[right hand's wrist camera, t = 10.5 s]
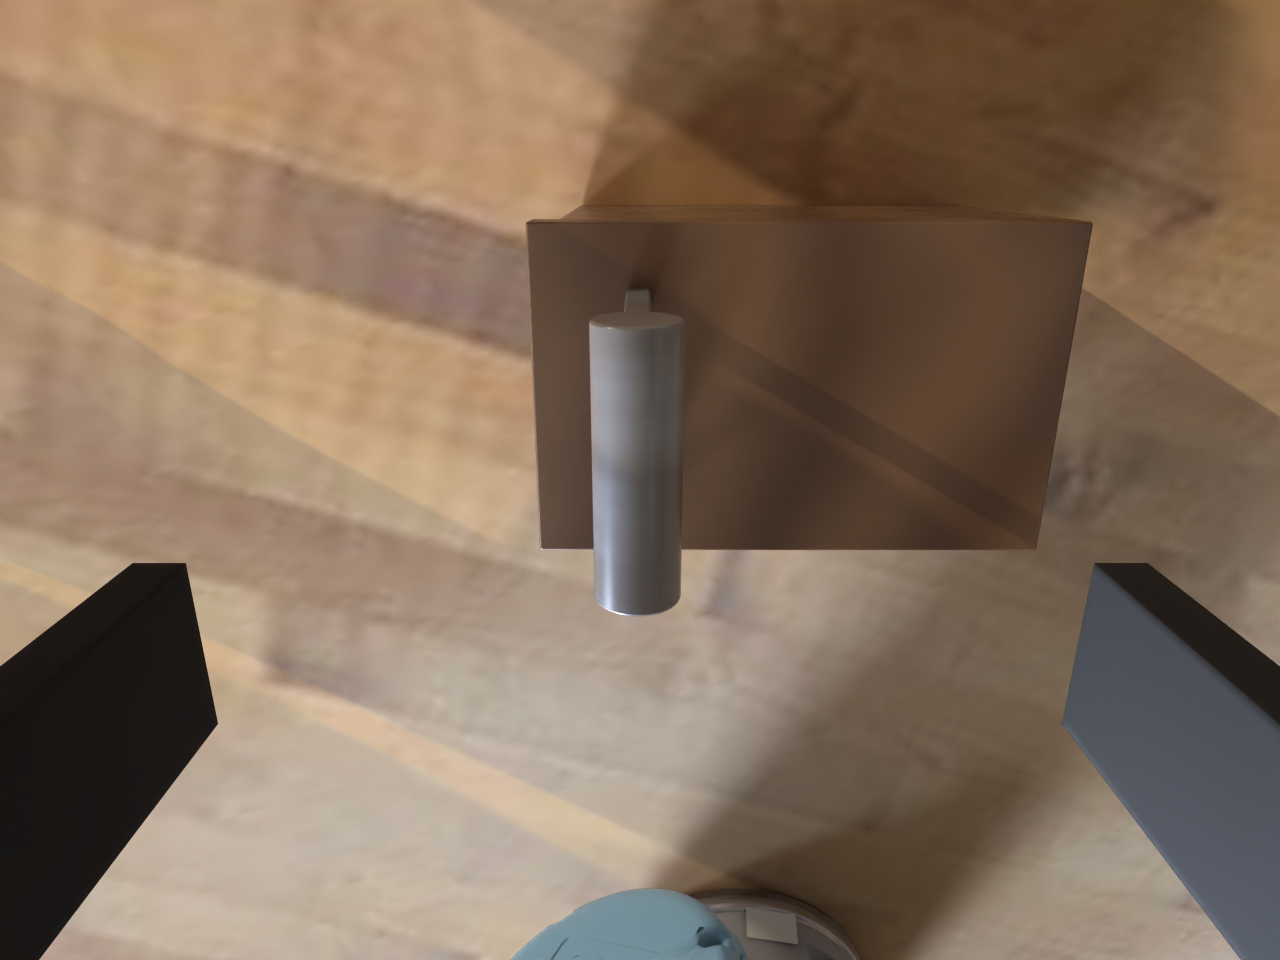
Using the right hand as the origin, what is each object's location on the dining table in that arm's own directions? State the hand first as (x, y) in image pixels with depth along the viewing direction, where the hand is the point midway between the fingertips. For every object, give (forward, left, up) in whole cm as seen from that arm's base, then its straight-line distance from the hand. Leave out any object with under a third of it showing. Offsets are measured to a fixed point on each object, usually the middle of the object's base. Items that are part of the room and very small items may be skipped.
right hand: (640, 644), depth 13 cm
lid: (+3, -4, -16) cm, 16 cm away
